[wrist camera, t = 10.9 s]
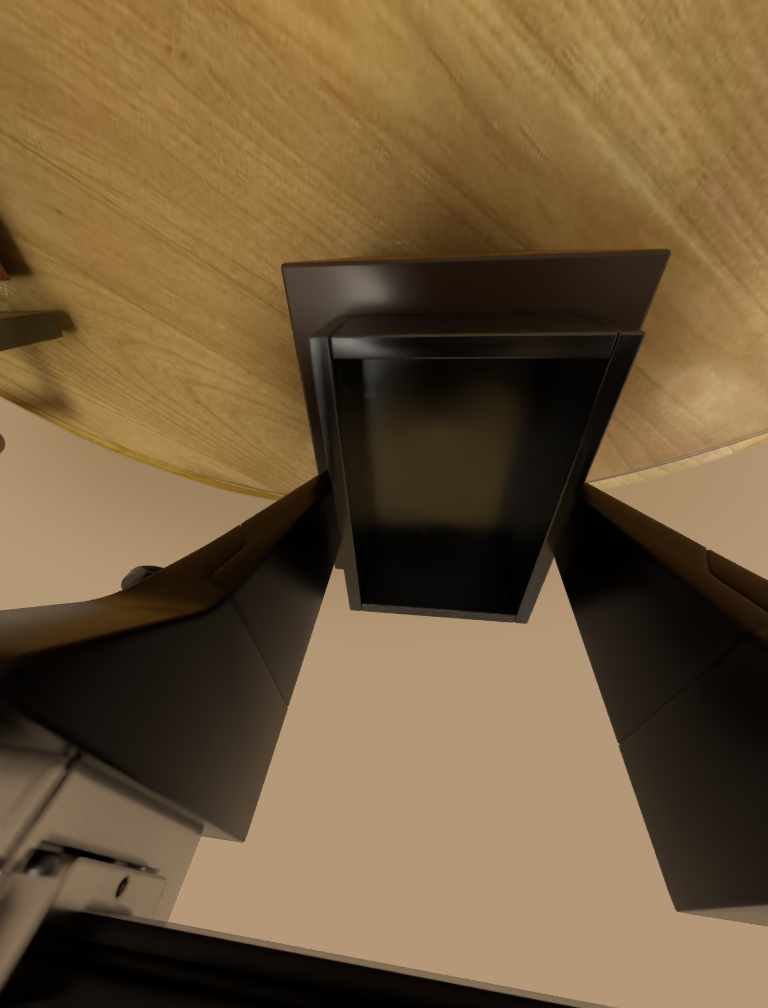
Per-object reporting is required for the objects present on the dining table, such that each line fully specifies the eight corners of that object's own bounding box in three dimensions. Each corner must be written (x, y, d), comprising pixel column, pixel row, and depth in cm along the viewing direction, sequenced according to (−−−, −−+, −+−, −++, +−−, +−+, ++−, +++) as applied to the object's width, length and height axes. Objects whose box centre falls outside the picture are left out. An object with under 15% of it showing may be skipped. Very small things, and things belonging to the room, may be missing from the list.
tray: (511, 563, 12) (527, 624, 10) (362, 554, 13) (349, 610, 11) (587, 309, 7) (647, 331, 5) (337, 314, 8) (306, 336, 6)
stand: (497, 454, 20) (540, 583, 12) (370, 451, 21) (334, 569, 13) (539, 250, 14) (675, 247, 6) (357, 257, 15) (278, 263, 7)
